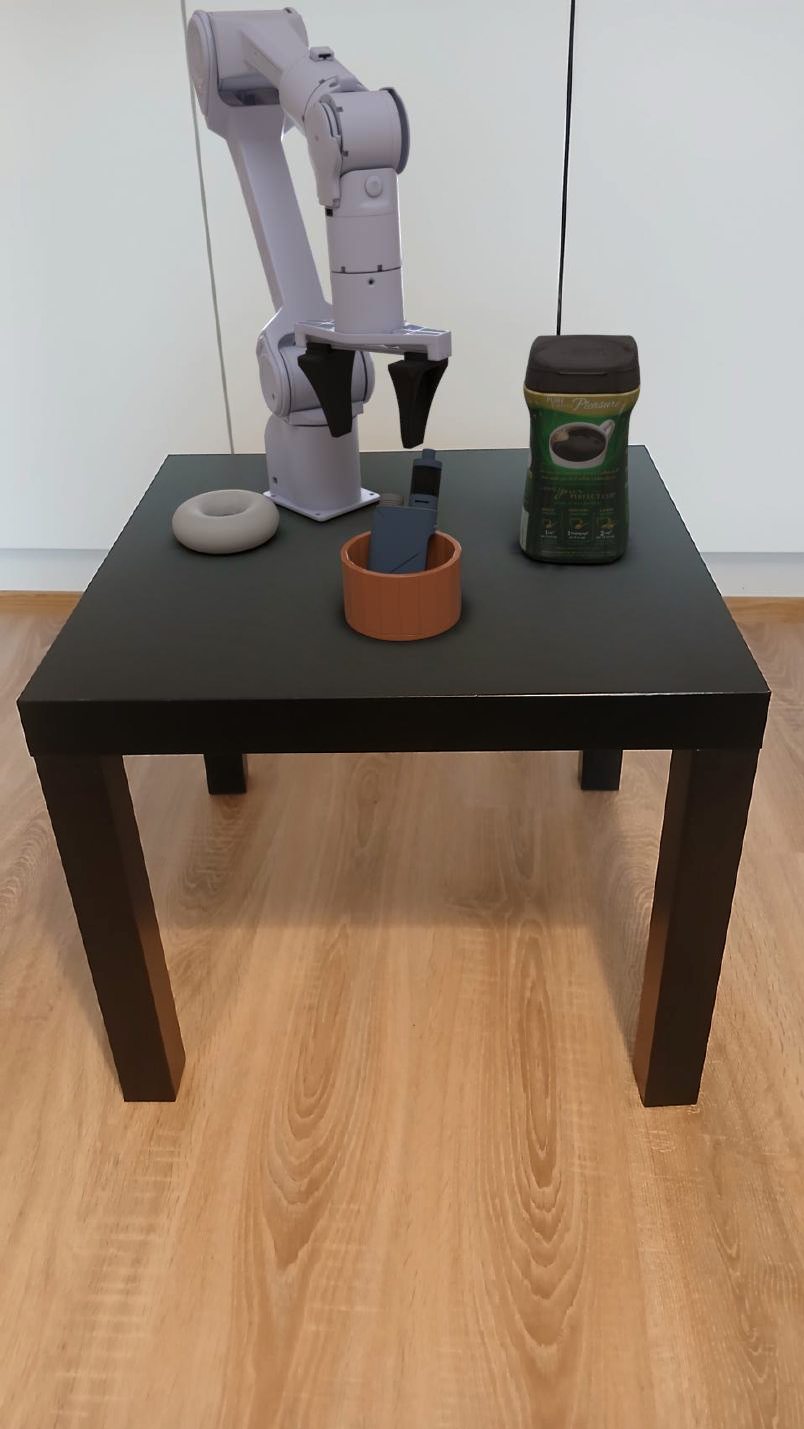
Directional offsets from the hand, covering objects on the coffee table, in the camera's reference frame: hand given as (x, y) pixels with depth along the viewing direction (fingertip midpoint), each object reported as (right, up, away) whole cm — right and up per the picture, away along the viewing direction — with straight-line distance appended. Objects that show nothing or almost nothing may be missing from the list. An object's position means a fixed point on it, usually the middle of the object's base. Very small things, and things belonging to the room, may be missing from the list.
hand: (376, 440), depth 90 cm
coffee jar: (+18, -9, +5) cm, 20 cm away
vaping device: (+2, -14, -5) cm, 15 cm away
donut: (-14, -7, +10) cm, 19 cm away
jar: (+2, -15, -4) cm, 16 cm away
